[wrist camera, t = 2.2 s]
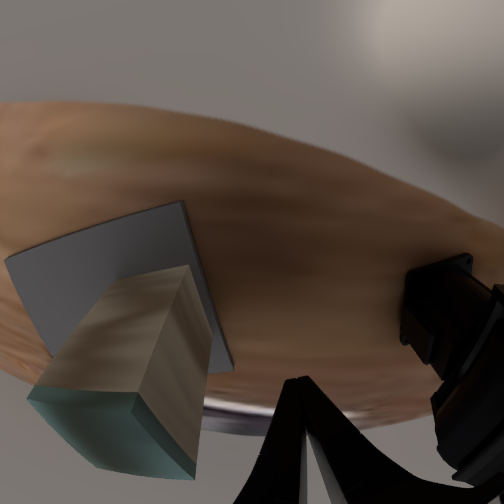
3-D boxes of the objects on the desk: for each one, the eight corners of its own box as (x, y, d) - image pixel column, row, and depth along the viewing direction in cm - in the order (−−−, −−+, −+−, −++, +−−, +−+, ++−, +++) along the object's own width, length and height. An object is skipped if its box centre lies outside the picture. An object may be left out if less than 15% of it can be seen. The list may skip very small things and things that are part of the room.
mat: (182, 199, 15) (179, 201, 14) (234, 364, 19) (233, 370, 18) (8, 257, 15) (3, 260, 15) (70, 373, 20) (67, 378, 19)
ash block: (189, 264, 15) (130, 412, 6) (212, 334, 17) (194, 480, 8) (115, 279, 16) (26, 398, 6) (144, 343, 17) (96, 467, 8)
